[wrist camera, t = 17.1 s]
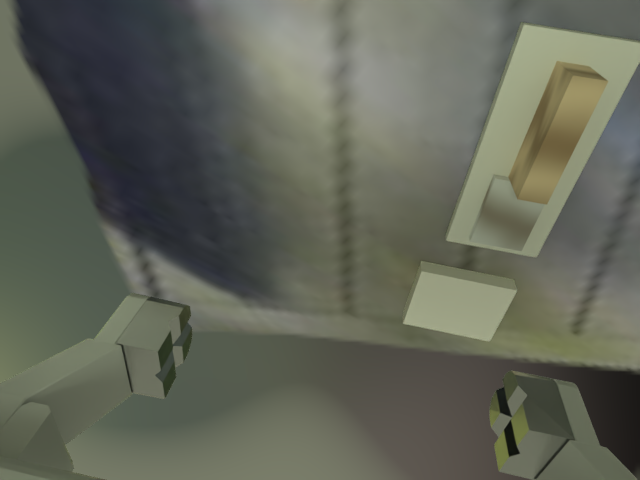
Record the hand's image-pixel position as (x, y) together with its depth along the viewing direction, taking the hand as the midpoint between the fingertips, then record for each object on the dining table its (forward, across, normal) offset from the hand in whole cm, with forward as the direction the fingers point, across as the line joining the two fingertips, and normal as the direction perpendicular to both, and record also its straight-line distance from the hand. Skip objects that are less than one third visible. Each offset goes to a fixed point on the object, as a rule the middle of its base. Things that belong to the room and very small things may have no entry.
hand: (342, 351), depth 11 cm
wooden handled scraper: (+30, -14, +6) cm, 34 cm away
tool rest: (+31, -14, +6) cm, 35 cm away
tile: (+30, -13, +20) cm, 39 cm away
